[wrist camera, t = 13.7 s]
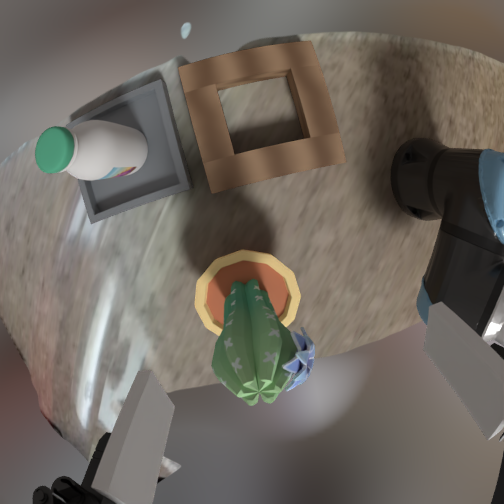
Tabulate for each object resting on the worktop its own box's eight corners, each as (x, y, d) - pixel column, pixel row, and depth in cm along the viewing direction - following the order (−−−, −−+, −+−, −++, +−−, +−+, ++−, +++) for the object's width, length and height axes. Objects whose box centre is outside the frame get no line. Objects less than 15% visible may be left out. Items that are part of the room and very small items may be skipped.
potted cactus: (266, 328, 49) (284, 442, 26) (188, 298, 47) (152, 409, 23) (307, 257, 45) (367, 351, 21) (222, 219, 43) (200, 291, 19)
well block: (305, 49, 34) (310, 40, 30) (337, 162, 40) (346, 162, 36) (183, 75, 35) (177, 67, 31) (214, 191, 41) (211, 194, 37)
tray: (166, 84, 35) (160, 79, 32) (193, 187, 41) (189, 189, 38) (75, 126, 36) (66, 125, 33) (99, 220, 41) (91, 224, 39)
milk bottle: (117, 122, 36) (38, 104, 17) (157, 136, 37) (90, 119, 18) (100, 166, 38) (17, 176, 19) (138, 182, 39) (64, 201, 20)
